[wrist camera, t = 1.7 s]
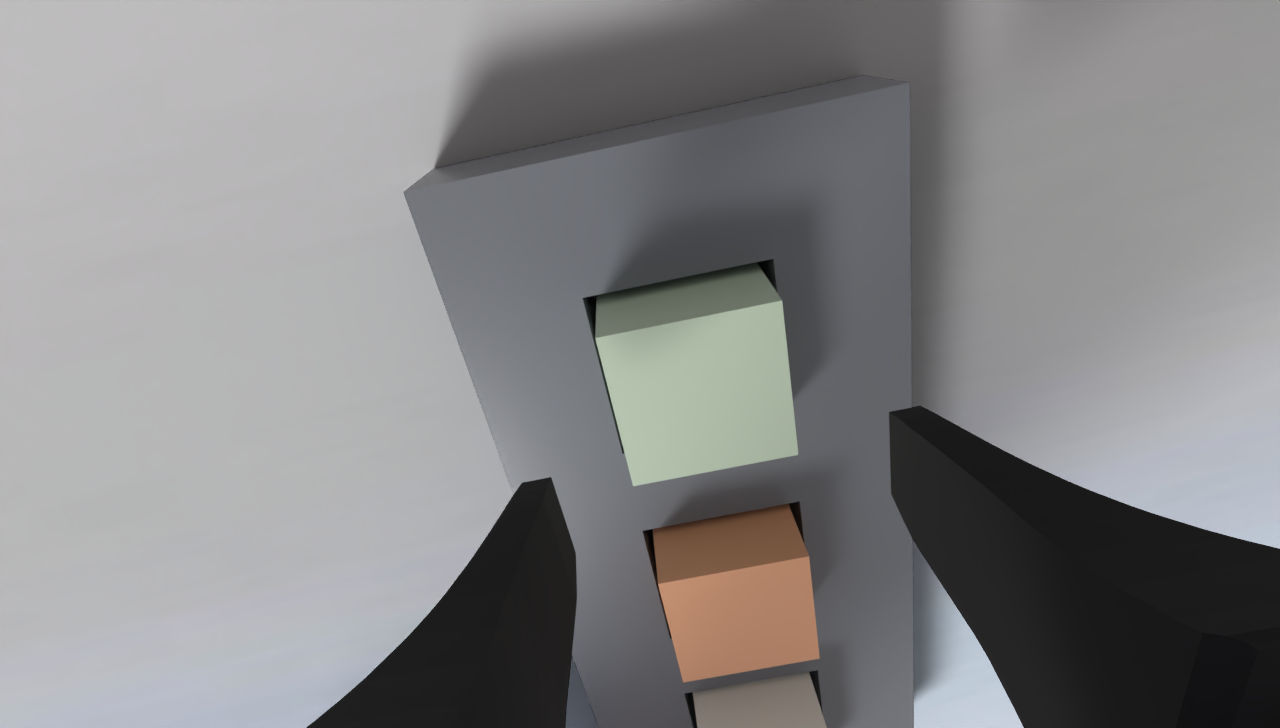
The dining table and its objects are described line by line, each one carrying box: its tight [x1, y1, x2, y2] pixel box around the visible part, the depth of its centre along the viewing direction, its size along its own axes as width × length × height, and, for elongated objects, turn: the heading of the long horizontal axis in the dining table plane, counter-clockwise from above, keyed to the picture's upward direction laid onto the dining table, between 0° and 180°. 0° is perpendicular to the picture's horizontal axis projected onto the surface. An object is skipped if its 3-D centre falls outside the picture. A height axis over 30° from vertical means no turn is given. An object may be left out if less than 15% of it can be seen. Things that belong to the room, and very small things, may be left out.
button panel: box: [403, 75, 914, 728], centre depth 23 cm, size 28×12×3 cm, turn 11°
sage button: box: [595, 262, 798, 486], centre depth 17 cm, size 4×4×3 cm
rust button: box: [653, 504, 820, 682], centre depth 21 cm, size 4×4×3 cm
